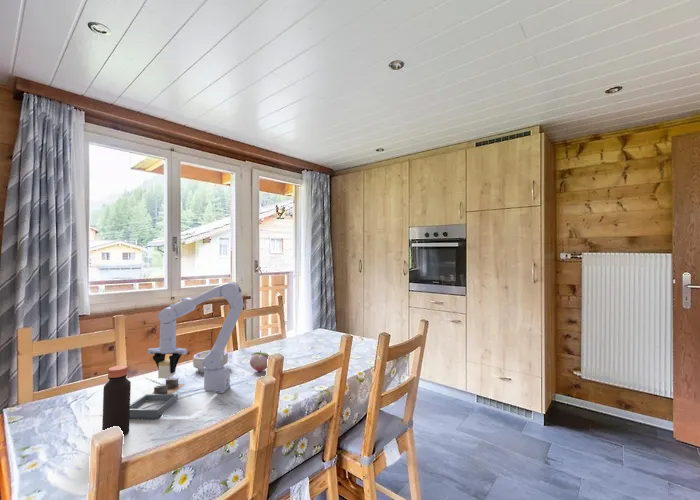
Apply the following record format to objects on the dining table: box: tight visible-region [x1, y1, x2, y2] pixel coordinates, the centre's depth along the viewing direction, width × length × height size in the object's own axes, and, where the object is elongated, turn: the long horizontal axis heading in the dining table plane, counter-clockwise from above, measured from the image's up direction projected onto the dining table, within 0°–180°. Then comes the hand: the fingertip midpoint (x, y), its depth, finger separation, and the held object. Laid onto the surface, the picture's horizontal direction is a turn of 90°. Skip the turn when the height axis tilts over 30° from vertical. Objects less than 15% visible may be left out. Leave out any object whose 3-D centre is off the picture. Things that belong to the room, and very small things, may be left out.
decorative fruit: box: [249, 350, 270, 373], centre depth 157 cm, size 9×8×10 cm
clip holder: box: [151, 377, 185, 394], centre depth 131 cm, size 8×13×4 cm, turn 0°
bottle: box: [101, 364, 132, 437], centre depth 100 cm, size 7×7×20 cm
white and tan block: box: [157, 358, 176, 379], centre depth 131 cm, size 4×5×6 cm
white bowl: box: [192, 349, 229, 374], centre depth 158 cm, size 15×15×8 cm
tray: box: [130, 393, 179, 420], centre depth 116 cm, size 12×13×3 cm
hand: (167, 372), depth 131 cm, fingers closed on white and tan block, 4 cm apart
